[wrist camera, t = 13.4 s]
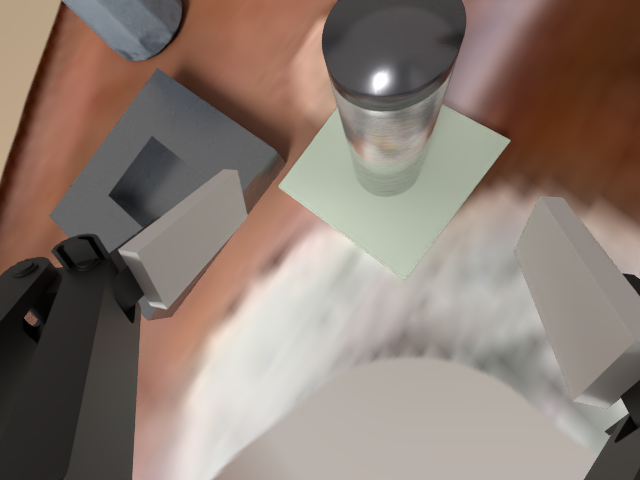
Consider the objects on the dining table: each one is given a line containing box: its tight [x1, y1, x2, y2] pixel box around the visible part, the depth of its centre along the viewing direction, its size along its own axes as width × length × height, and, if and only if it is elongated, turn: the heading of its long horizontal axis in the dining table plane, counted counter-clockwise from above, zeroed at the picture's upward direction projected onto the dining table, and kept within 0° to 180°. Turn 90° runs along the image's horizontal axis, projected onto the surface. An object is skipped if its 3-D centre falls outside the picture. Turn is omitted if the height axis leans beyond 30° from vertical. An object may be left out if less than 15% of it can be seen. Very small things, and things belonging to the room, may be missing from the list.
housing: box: [49, 68, 286, 321], centre depth 25 cm, size 16×14×2 cm
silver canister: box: [322, 0, 466, 197], centre depth 16 cm, size 5×5×12 cm
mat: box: [278, 104, 511, 280], centre depth 22 cm, size 12×12×1 cm
